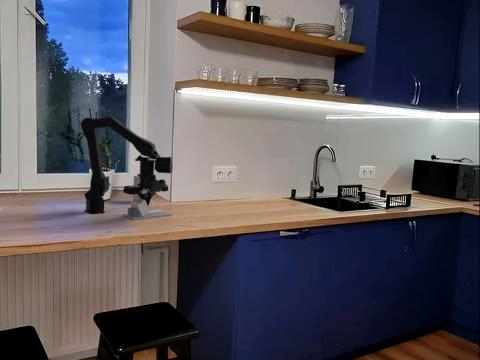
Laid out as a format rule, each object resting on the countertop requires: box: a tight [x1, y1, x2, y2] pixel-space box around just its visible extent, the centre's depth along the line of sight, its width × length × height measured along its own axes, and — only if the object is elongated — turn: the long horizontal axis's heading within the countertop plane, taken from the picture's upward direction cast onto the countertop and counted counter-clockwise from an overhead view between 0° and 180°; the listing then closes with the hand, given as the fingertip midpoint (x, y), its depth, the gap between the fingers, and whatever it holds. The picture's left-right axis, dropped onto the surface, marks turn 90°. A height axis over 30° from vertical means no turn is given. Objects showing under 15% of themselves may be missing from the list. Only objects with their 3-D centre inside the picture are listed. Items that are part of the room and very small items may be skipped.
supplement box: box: [132, 174, 153, 204], centre depth 212 cm, size 8×5×13 cm, turn 84°
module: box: [129, 198, 151, 216], centre depth 182 cm, size 4×6×6 cm, turn 44°
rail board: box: [122, 206, 172, 221], centre depth 185 cm, size 18×9×4 cm, turn 135°
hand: (145, 208), depth 184 cm, fingers closed
